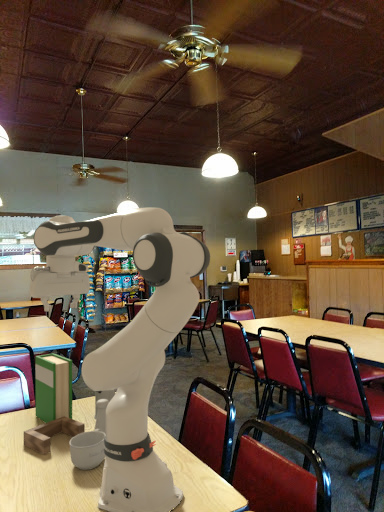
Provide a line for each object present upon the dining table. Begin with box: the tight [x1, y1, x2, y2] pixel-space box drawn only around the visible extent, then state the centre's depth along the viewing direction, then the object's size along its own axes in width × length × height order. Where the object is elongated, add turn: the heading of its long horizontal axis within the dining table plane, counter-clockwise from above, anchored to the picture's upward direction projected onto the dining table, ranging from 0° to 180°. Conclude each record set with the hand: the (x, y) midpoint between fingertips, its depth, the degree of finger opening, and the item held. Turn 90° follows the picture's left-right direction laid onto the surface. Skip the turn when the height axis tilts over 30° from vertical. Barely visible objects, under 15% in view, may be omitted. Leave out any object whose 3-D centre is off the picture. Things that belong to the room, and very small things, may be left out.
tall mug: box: [93, 389, 116, 420], centre depth 152 cm, size 9×14×15 cm, turn 42°
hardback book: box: [35, 353, 73, 424], centre depth 148 cm, size 18×7×24 cm, turn 43°
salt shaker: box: [94, 399, 109, 434], centre depth 131 cm, size 6×6×13 cm
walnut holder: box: [23, 416, 86, 456], centre depth 129 cm, size 12×16×4 cm
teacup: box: [68, 428, 106, 471], centre depth 114 cm, size 14×11×8 cm
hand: (61, 309), depth 120 cm, fingers open, 8 cm apart
